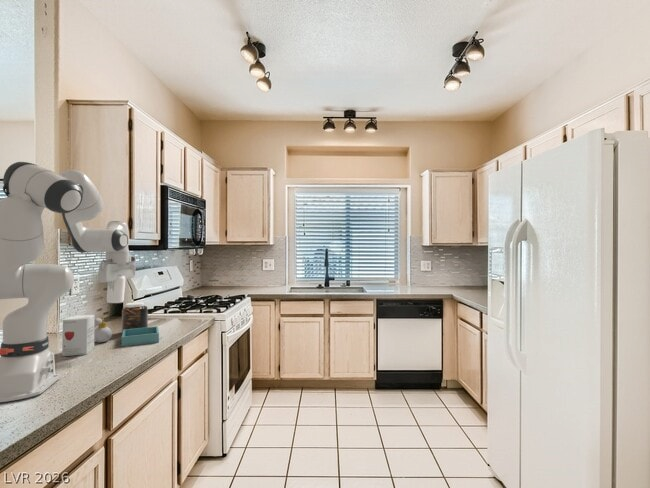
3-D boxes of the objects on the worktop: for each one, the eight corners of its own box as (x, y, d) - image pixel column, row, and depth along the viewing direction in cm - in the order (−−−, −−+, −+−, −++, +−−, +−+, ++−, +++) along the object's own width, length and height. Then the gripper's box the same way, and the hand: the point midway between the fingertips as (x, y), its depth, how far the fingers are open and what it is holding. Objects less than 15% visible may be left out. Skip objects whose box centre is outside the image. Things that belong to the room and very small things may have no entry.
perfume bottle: (112, 338, 168) (112, 314, 168) (110, 344, 159) (110, 317, 159) (94, 340, 164) (94, 315, 164) (90, 346, 156) (90, 319, 156)
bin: (158, 342, 162) (158, 333, 162) (121, 346, 155) (121, 337, 155) (158, 334, 175) (158, 326, 175) (123, 338, 169) (123, 329, 169)
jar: (146, 334, 177) (146, 304, 177) (120, 336, 172) (120, 306, 172) (148, 328, 188) (148, 300, 188) (123, 330, 183) (124, 302, 183)
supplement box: (61, 356, 141) (61, 319, 141) (71, 350, 150) (71, 315, 150) (86, 354, 144) (87, 318, 144) (95, 348, 152) (95, 314, 152)
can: (115, 303, 147) (117, 275, 148) (102, 302, 149) (104, 274, 149) (127, 302, 154) (129, 275, 154) (114, 301, 155) (116, 274, 156)
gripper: (108, 260, 142) (108, 294, 142) (138, 257, 162) (138, 287, 162) (93, 260, 142) (93, 293, 142) (125, 257, 162) (125, 287, 163)
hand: (117, 290), depth 152 cm, fingers closed on can, 5 cm apart
